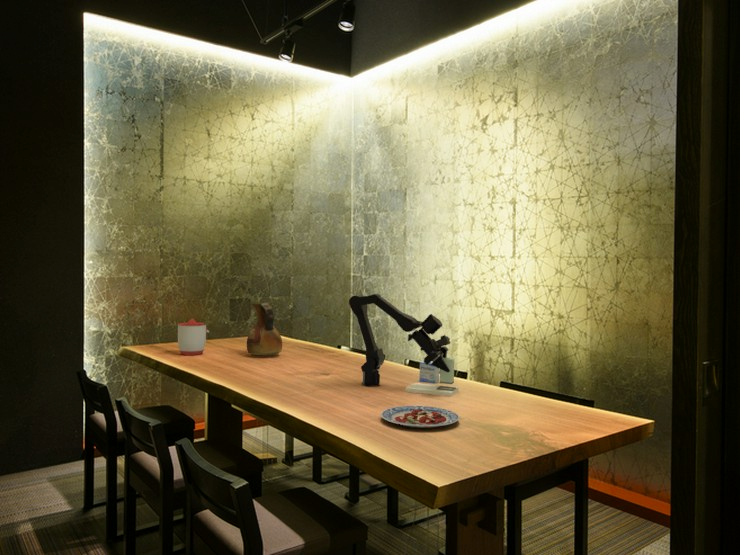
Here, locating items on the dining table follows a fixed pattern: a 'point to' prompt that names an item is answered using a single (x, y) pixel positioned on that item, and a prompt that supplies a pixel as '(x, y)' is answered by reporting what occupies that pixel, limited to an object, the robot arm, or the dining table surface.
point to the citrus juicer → (192, 337)
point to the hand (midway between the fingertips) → (450, 371)
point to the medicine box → (428, 373)
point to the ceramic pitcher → (264, 333)
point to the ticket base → (432, 389)
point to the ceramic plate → (419, 416)
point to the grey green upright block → (447, 376)
